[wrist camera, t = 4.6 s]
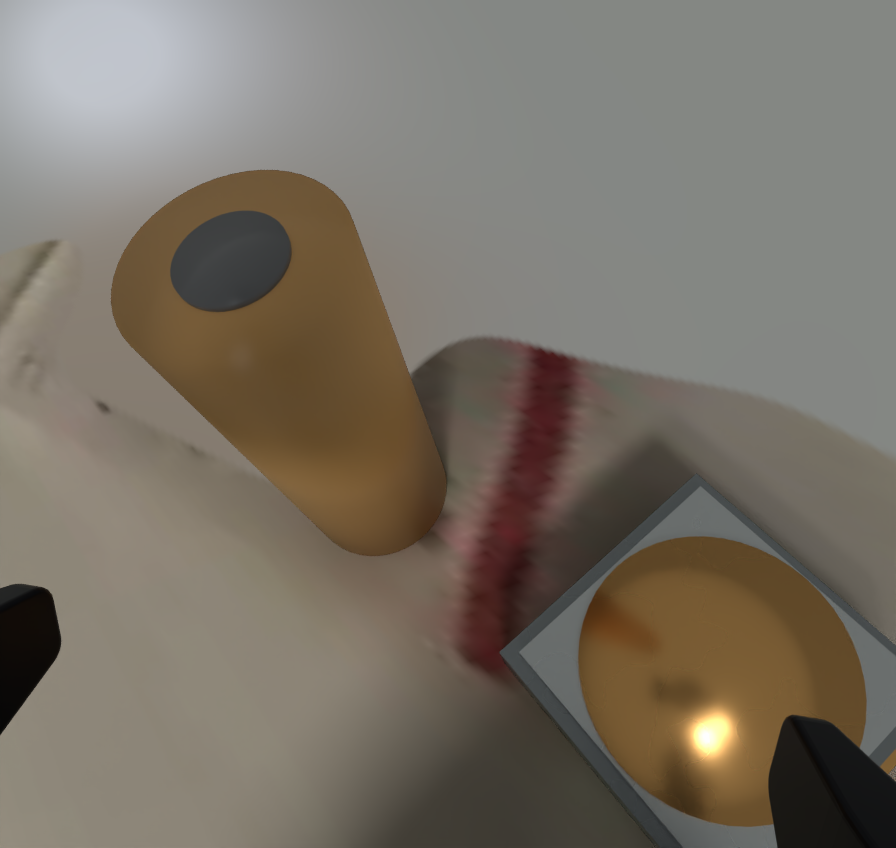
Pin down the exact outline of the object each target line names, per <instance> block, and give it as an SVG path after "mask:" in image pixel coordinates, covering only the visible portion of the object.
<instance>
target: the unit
mask: <svg viewBox="0 0 896 848" xmlns="http://www.w3.org/2000/svg"><path fill="white" fill-rule="evenodd" d="M499 653H500V655H501V657H502V659H503V661H504V663H505V664H506V665H507V667H508V668H509V669H510V670H511V671H512V673H513V674H514V675H515V676H516V678H517V679H518V680H519V681H520V682H521V684H522V685H523V686H524V687H525V689H526V690H527V691H528V692H529V693H530V695H531V696H532V697H533V698H534V699H535V701H536V702H537V703H538V704H539V706H540V707H541V708H542V709H543V710H544V712H545V713H546V714H547V715H548V716H549V718H550V719H551V720H552V721H553V723H554V724H555V725H556V726H557V727H558V729H559V730H560V731H561V732H562V733H563V735H564V736H565V737H566V738H567V740H568V741H569V742H570V743H571V744H572V746H573V747H574V748H575V749H576V751H577V752H578V753H579V754H580V755H581V757H582V758H583V759H584V760H585V761H586V763H587V764H588V765H589V766H590V768H591V769H592V770H593V771H594V772H595V774H596V775H597V776H598V777H599V778H600V780H601V781H602V782H603V783H604V785H605V786H606V787H607V788H608V789H609V791H610V792H611V793H612V794H613V795H614V797H615V798H616V799H617V800H618V802H619V803H620V804H621V805H622V806H623V808H624V809H625V810H626V811H627V813H628V814H629V815H630V816H631V817H632V819H633V820H634V821H635V822H636V823H637V825H638V826H639V827H640V828H641V830H642V831H643V832H644V833H645V834H646V836H647V837H648V838H649V839H650V840H651V842H652V843H653V844H654V845H655V847H656V848H777V842H776V836H775V830H774V824H773V818H772V812H771V806H770V800H769V791H768V778H769V771H770V767H771V763H772V759H773V756H774V752H775V748H776V745H777V741H778V737H779V733H780V730H781V726H782V723H783V721H784V720H785V718H786V717H788V716H790V715H799V716H805V717H811V718H817V719H823V720H826V721H829V722H831V723H832V724H834V725H835V726H836V727H837V728H838V729H839V730H841V731H842V732H843V733H844V734H845V735H846V736H847V737H848V738H849V739H850V740H851V741H852V742H854V743H855V744H856V745H857V746H858V747H859V748H860V749H861V750H862V751H863V752H864V753H865V754H866V755H868V756H869V757H870V758H871V759H872V760H873V761H874V762H875V763H876V764H877V765H878V766H879V767H880V768H882V769H883V770H884V771H885V772H886V773H887V774H889V772H890V771H891V770H892V769H893V768H894V767H895V766H896V645H894V644H893V643H892V642H891V641H890V640H889V639H887V638H886V637H885V636H884V635H883V634H882V633H880V632H879V631H878V630H877V629H876V628H875V627H874V626H872V625H871V624H870V623H869V622H868V621H867V620H865V619H864V618H863V617H862V616H861V615H860V614H858V613H857V612H856V611H855V610H854V609H853V608H852V607H850V606H849V605H848V604H847V603H846V602H845V601H843V600H842V599H841V598H840V597H839V596H838V595H837V594H835V593H834V592H833V591H832V590H831V589H830V588H828V587H827V586H826V585H825V584H824V583H823V582H821V581H820V580H819V579H818V578H817V577H816V576H815V575H813V574H812V573H811V572H810V571H809V570H808V569H806V568H805V567H804V566H803V565H802V564H801V563H799V562H798V561H797V560H796V559H795V558H794V557H793V556H791V555H790V554H789V553H788V552H787V551H786V550H784V549H783V548H782V547H781V546H780V545H779V544H777V543H776V542H775V541H774V540H773V539H772V538H771V537H769V536H768V535H767V534H766V533H765V532H764V531H762V530H761V529H760V528H759V527H758V526H757V525H755V524H754V523H753V522H752V521H751V520H750V519H749V518H747V517H746V516H745V515H744V514H743V513H742V512H740V511H739V510H738V509H737V508H736V507H735V506H733V505H732V504H731V503H730V502H729V501H728V500H727V499H725V498H724V497H723V496H722V495H721V494H720V493H718V492H717V491H716V490H715V489H714V488H713V487H711V486H710V485H709V484H708V483H707V482H706V481H705V480H703V479H702V478H701V477H700V476H699V475H698V474H695V475H694V476H693V477H692V478H691V479H690V480H689V481H687V482H686V483H685V484H684V485H683V486H682V487H681V488H680V489H679V490H678V491H676V492H675V493H674V494H673V495H672V496H671V497H670V498H669V499H668V500H667V501H665V502H664V503H663V504H662V505H661V506H660V507H659V508H658V509H657V510H656V511H654V512H653V513H652V514H651V515H650V516H649V517H648V518H647V519H646V520H645V521H643V522H642V523H641V524H640V525H639V526H638V527H637V528H636V529H635V530H633V531H632V532H631V533H630V534H629V535H628V536H627V537H626V538H625V539H624V540H622V541H621V542H620V543H619V544H618V545H617V546H616V547H615V548H614V549H613V550H611V551H610V552H609V553H608V554H607V555H606V556H605V557H604V558H603V559H602V560H600V561H599V562H598V563H597V564H596V565H595V566H594V567H593V568H592V569H591V570H589V571H588V572H587V573H586V574H585V575H584V576H583V577H582V578H581V579H579V580H578V581H577V582H576V583H575V584H574V585H573V586H572V587H571V588H570V589H568V590H567V591H566V592H565V593H564V594H563V595H562V596H561V597H560V598H559V599H557V600H556V601H555V602H554V603H553V604H552V605H551V606H550V607H549V608H548V609H546V610H545V611H544V612H543V613H542V614H541V615H540V616H539V617H538V618H537V619H535V620H534V621H533V622H532V623H531V624H530V625H529V626H528V627H527V628H525V629H524V630H523V631H522V632H521V633H520V634H519V635H518V636H517V637H516V638H514V639H513V640H512V641H511V642H510V643H509V644H508V645H507V646H506V647H505V648H503V649H502V650H501V651H500V652H499Z"/></svg>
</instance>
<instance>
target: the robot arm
mask: <svg viewBox="0 0 896 848" xmlns="http://www.w3.org/2000/svg"><path fill="white" fill-rule="evenodd" d="M60 647H61V634H60V629H59V624H58V620H57V615H56V610H55V605H54V600H53V596H52V594H51V593H50V592H49V590H47V589H45V588H43V587H38V586H32V585H26V584H13V585H9V586H6V587H3V588H0V735H1V733H2V732H3V731H4V729H5V728H6V727H7V725H8V724H9V722H10V721H11V720H12V718H13V717H14V716H15V714H16V713H17V712H18V710H19V709H20V707H21V706H22V705H23V703H24V702H25V701H26V699H27V698H28V696H29V695H30V694H31V692H32V691H33V690H34V688H35V687H36V686H37V684H38V683H39V681H40V680H41V679H42V677H43V676H44V675H45V673H46V672H47V671H48V669H49V668H50V666H51V665H52V664H53V662H54V661H55V659H56V658H57V656H58V653H59V651H60ZM768 791H769V800H770V806H771V812H772V818H773V824H774V830H775V836H776V842H777V848H896V781H894V780H893V779H892V778H891V777H890V776H889V775H888V774H887V773H886V772H885V771H884V770H883V769H882V768H880V767H879V766H878V765H877V764H876V763H875V762H874V761H873V760H872V759H871V758H870V757H869V756H868V755H866V754H865V753H864V752H863V751H862V750H861V749H860V748H859V747H858V746H857V745H856V744H855V743H854V742H852V741H851V740H850V739H849V738H848V737H847V736H846V735H845V734H844V733H843V732H842V731H841V730H839V729H838V728H837V727H836V726H835V725H834V724H832V723H831V722H829V721H826V720H823V719H817V718H811V717H805V716H799V715H790V716H788V717H786V718H785V720H784V721H783V723H782V726H781V730H780V733H779V737H778V741H777V745H776V748H775V752H774V756H773V759H772V763H771V767H770V771H769V778H768Z"/></svg>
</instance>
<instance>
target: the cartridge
mask: <svg viewBox="0 0 896 848" xmlns="http://www.w3.org/2000/svg"><path fill="white" fill-rule="evenodd" d="M111 305H112V312H113V316H114V319H115V322H116V325H117V327H118V329H119V331H120V333H121V334H122V336H123V337H124V339H125V340H126V341H127V342H128V343H129V344H130V346H131V347H132V348H133V349H134V350H135V351H136V352H137V353H138V354H139V355H140V356H141V357H142V358H144V359H145V360H146V361H147V362H148V363H149V364H150V365H151V366H152V367H153V368H154V369H155V370H156V371H157V372H158V373H159V374H160V375H161V376H162V377H163V378H164V379H165V380H166V381H167V382H168V383H169V384H170V385H171V386H173V388H175V389H176V390H177V391H178V392H179V393H180V394H181V395H182V396H183V397H184V398H185V399H186V400H187V401H188V402H189V403H190V404H191V405H192V406H193V407H194V408H195V409H196V410H197V411H198V412H199V413H200V414H201V415H203V417H205V418H206V419H207V420H208V421H209V422H210V423H211V424H212V425H213V426H214V427H215V428H216V429H217V430H218V431H219V432H220V433H221V434H222V435H223V436H224V437H225V438H226V439H227V440H228V441H229V442H230V443H231V444H232V445H234V447H235V448H237V449H238V450H239V451H240V452H241V453H242V454H243V455H244V456H245V457H246V458H247V459H248V460H249V461H250V462H251V463H252V464H253V465H254V466H255V467H256V468H257V469H258V470H259V471H260V472H261V473H262V474H263V475H264V476H265V477H266V478H268V479H269V480H270V481H271V482H272V483H273V484H274V485H275V486H276V487H277V488H278V489H279V490H280V491H281V492H282V493H283V494H284V495H285V496H286V497H287V498H288V499H289V500H290V501H291V502H292V503H293V504H294V505H295V506H296V507H297V508H299V509H300V510H301V511H302V512H303V513H304V514H305V515H306V516H307V517H308V518H309V519H310V520H311V521H312V522H313V523H314V524H315V525H316V526H317V527H318V528H319V529H320V530H321V531H322V532H323V533H324V534H325V535H326V536H327V537H328V538H330V539H331V540H332V541H333V542H334V543H335V544H337V545H338V546H340V547H341V548H343V549H345V550H347V551H350V552H352V553H356V554H359V555H366V556H380V555H387V554H391V553H395V552H398V551H400V550H403V549H405V548H407V547H409V546H410V545H412V544H414V543H415V542H416V541H418V540H419V539H421V538H422V537H423V536H424V535H425V534H426V533H427V532H428V531H429V529H430V528H431V527H432V526H433V525H434V523H435V521H436V520H437V518H438V516H439V514H440V512H441V510H442V507H443V504H444V501H445V496H446V475H445V471H444V467H443V464H442V462H441V459H440V456H439V453H438V451H437V448H436V445H435V442H434V440H433V437H432V434H431V432H430V429H429V426H428V423H427V421H426V418H425V415H424V413H423V410H422V407H421V404H420V402H419V399H418V396H417V393H416V391H415V388H414V385H413V383H412V380H411V377H410V374H409V372H408V369H407V366H406V364H405V361H404V358H403V355H402V353H401V350H400V347H399V344H398V342H397V339H396V336H395V334H394V331H393V328H392V325H391V323H390V320H389V317H388V315H387V312H386V309H385V306H384V304H383V301H382V298H381V295H380V293H379V290H378V287H377V285H376V282H375V279H374V276H373V274H372V271H371V268H370V266H369V263H368V260H367V257H366V255H365V252H364V249H363V247H362V244H361V241H360V238H359V236H358V233H357V230H356V227H355V225H354V222H353V220H352V218H351V215H350V213H349V211H348V209H347V207H346V206H345V204H344V203H343V201H342V200H341V199H340V198H339V197H338V196H337V195H336V194H335V193H334V192H333V191H332V190H330V189H329V188H328V187H326V186H325V185H323V184H322V183H320V182H318V181H316V180H314V179H312V178H309V177H306V176H304V175H301V174H296V173H292V172H287V171H279V170H256V171H246V172H240V173H235V174H230V175H227V176H223V177H220V178H216V179H214V180H211V181H208V182H206V183H203V184H201V185H199V186H197V187H194V188H192V189H190V190H188V191H187V192H185V193H183V194H181V195H180V196H178V197H176V198H175V199H173V200H172V201H171V202H169V203H168V204H166V205H165V206H164V207H162V208H161V209H160V210H159V211H158V212H156V213H155V214H154V215H153V216H152V217H151V218H150V219H149V220H148V221H147V222H146V223H145V224H144V225H143V226H142V227H141V228H140V229H139V231H138V232H137V233H136V234H135V236H134V237H133V238H132V239H131V241H130V243H129V244H128V246H127V247H126V249H125V250H124V252H123V255H122V256H121V259H120V261H119V263H118V265H117V268H116V271H115V274H114V278H113V283H112V289H111Z"/></svg>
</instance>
